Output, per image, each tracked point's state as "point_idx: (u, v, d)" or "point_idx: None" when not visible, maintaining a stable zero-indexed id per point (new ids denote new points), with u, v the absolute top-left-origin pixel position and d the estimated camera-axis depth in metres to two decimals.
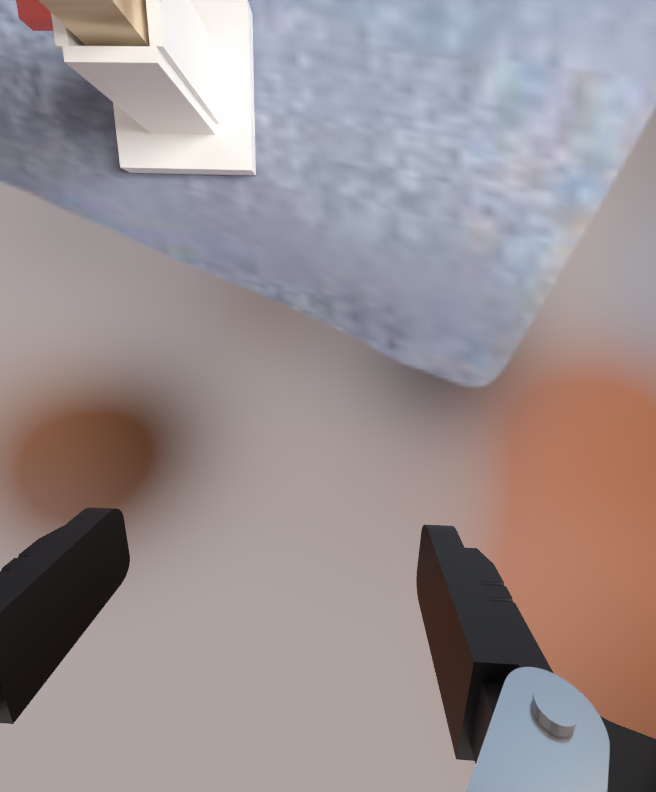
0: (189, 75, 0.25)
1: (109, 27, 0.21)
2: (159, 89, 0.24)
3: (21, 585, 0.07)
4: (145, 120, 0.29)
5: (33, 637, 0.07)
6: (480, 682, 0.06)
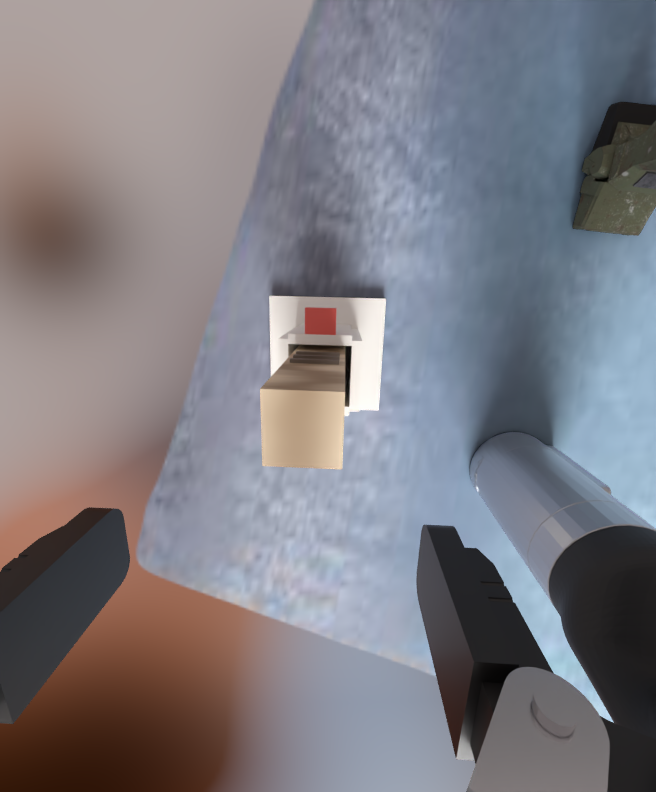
0: None
1: None
2: None
3: (21, 585, 0.07)
4: None
5: (33, 637, 0.07)
6: (480, 682, 0.06)
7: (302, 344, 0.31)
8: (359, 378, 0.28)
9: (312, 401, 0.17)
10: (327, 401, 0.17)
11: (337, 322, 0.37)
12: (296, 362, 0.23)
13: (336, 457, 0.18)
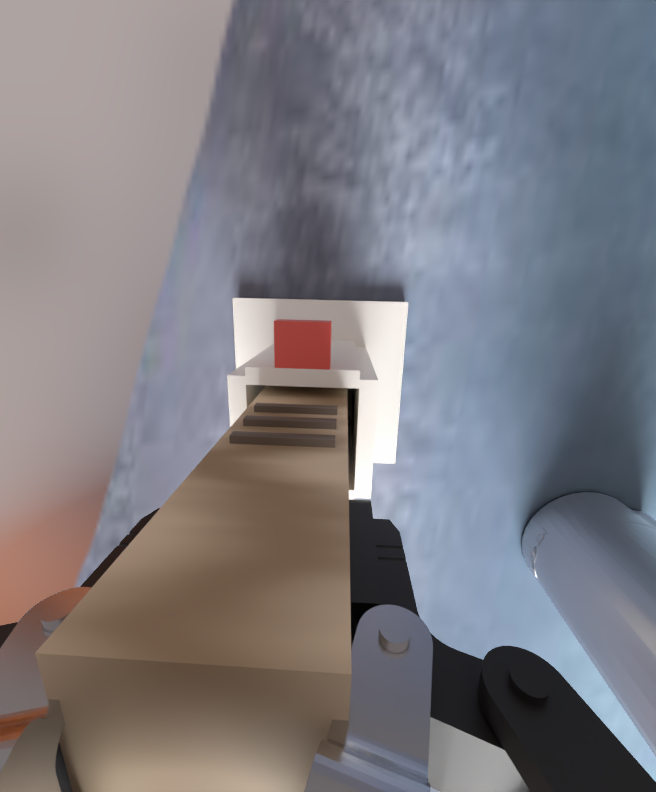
0: None
1: None
2: None
3: None
4: None
5: None
6: (352, 619, 0.07)
7: None
8: (372, 444, 0.16)
9: (230, 696, 0.05)
10: (285, 698, 0.05)
11: (335, 337, 0.25)
12: (243, 442, 0.11)
13: None
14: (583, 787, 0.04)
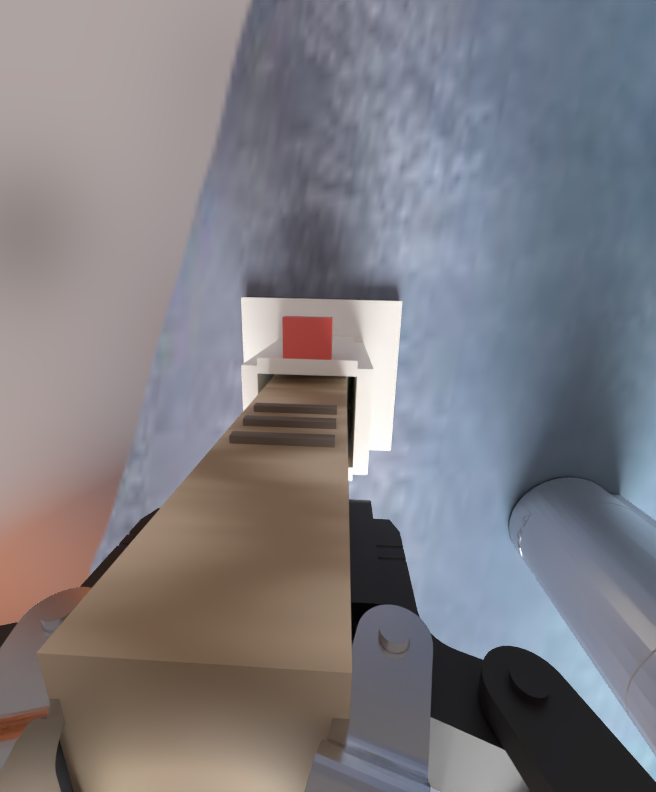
0: None
1: None
2: None
3: None
4: None
5: None
6: (352, 620, 0.07)
7: (276, 377, 0.19)
8: (368, 426, 0.18)
9: (231, 695, 0.05)
10: (286, 697, 0.05)
11: (335, 333, 0.27)
12: (243, 442, 0.11)
13: None
14: (583, 787, 0.04)
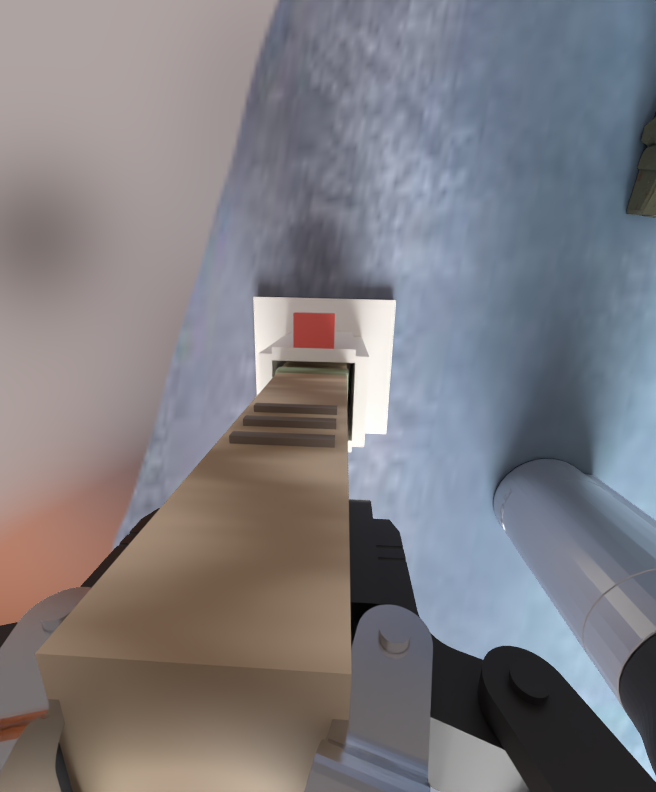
0: None
1: None
2: None
3: None
4: None
5: None
6: (352, 619, 0.07)
7: (276, 377, 0.19)
8: (365, 404, 0.22)
9: (230, 696, 0.05)
10: (285, 698, 0.05)
11: (336, 329, 0.31)
12: (243, 442, 0.11)
13: None
14: (583, 787, 0.04)
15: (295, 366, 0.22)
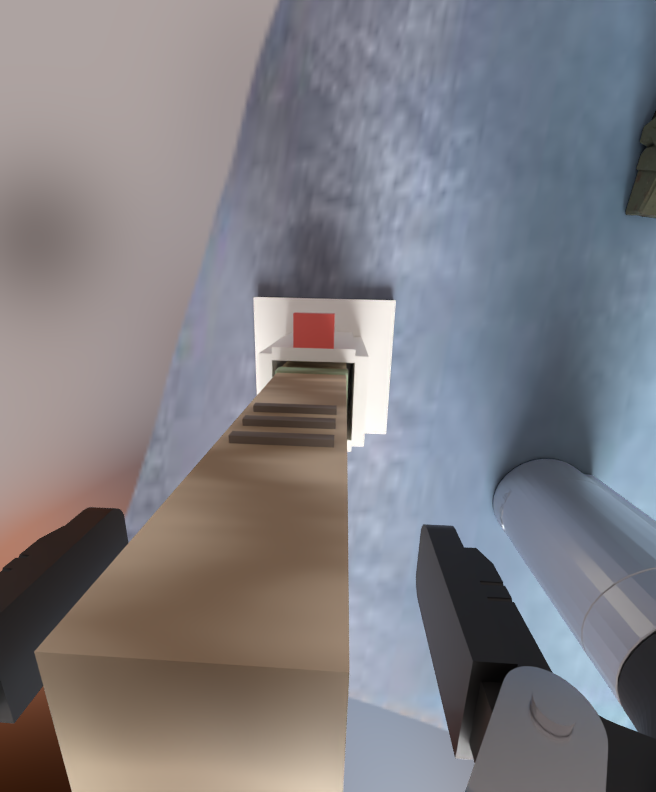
0: None
1: None
2: None
3: (22, 585, 0.07)
4: None
5: (34, 637, 0.07)
6: (479, 682, 0.06)
7: (276, 378, 0.19)
8: (364, 404, 0.22)
9: (229, 694, 0.05)
10: (283, 697, 0.05)
11: (336, 329, 0.31)
12: (242, 442, 0.11)
13: None
14: None
15: (295, 366, 0.22)
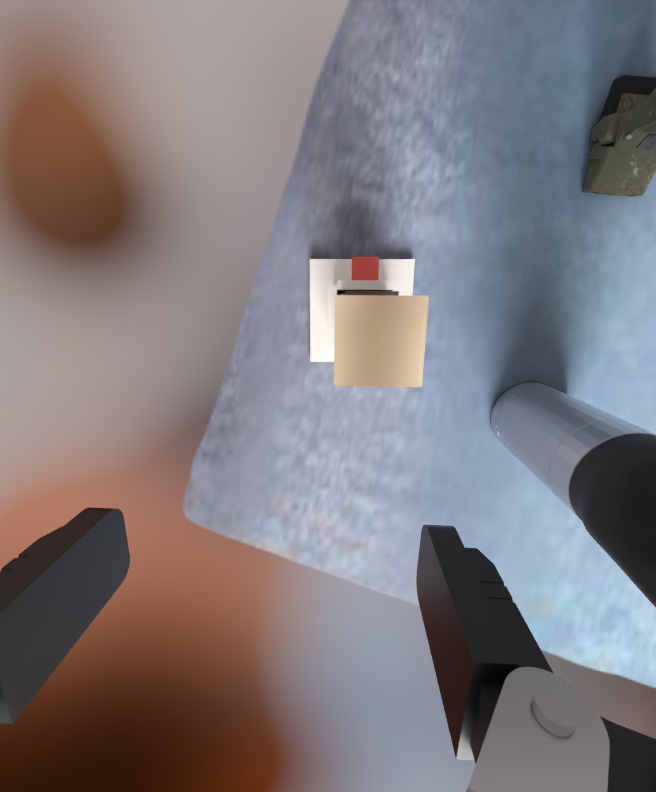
0: None
1: None
2: None
3: (21, 585, 0.07)
4: None
5: (33, 637, 0.07)
6: (480, 682, 0.06)
7: None
8: None
9: (392, 308, 0.15)
10: (408, 307, 0.15)
11: None
12: (352, 294, 0.22)
13: (415, 372, 0.16)
14: None
15: None
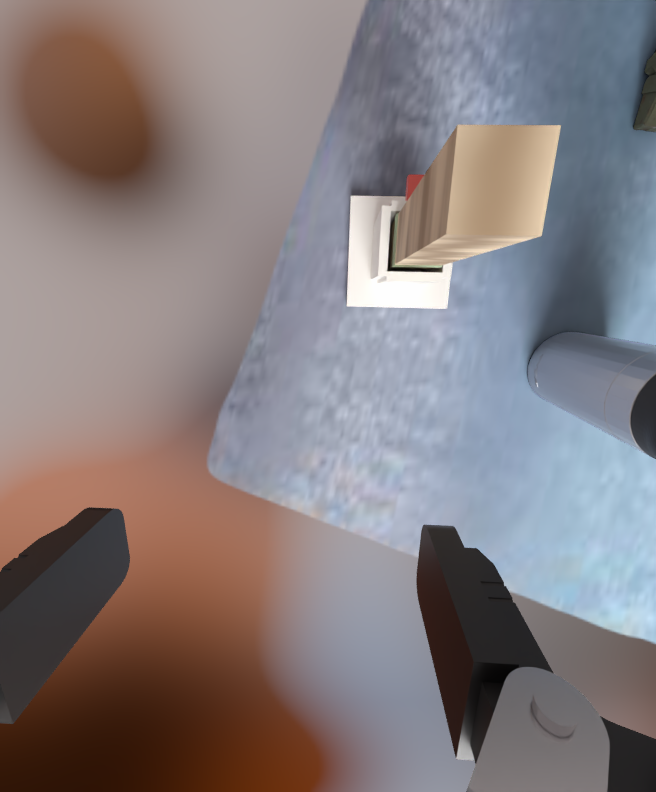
0: None
1: (406, 237, 0.26)
2: (376, 262, 0.35)
3: (21, 585, 0.07)
4: (374, 231, 0.38)
5: (33, 637, 0.07)
6: (480, 682, 0.06)
7: None
8: None
9: (519, 140, 0.14)
10: (537, 139, 0.14)
11: None
12: None
13: (537, 219, 0.15)
14: None
15: None
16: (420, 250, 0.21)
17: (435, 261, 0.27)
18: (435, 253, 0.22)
